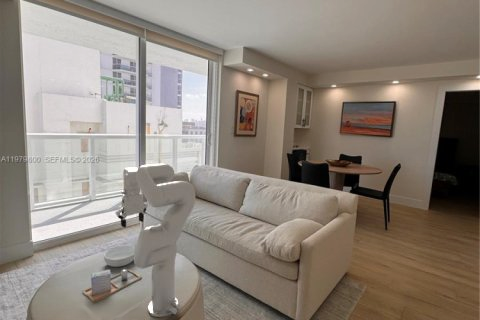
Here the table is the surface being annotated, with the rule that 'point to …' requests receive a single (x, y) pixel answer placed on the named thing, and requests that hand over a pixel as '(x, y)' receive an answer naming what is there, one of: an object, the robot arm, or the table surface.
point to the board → (113, 286)
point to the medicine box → (101, 282)
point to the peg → (124, 275)
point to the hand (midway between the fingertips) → (132, 223)
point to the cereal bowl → (119, 256)
